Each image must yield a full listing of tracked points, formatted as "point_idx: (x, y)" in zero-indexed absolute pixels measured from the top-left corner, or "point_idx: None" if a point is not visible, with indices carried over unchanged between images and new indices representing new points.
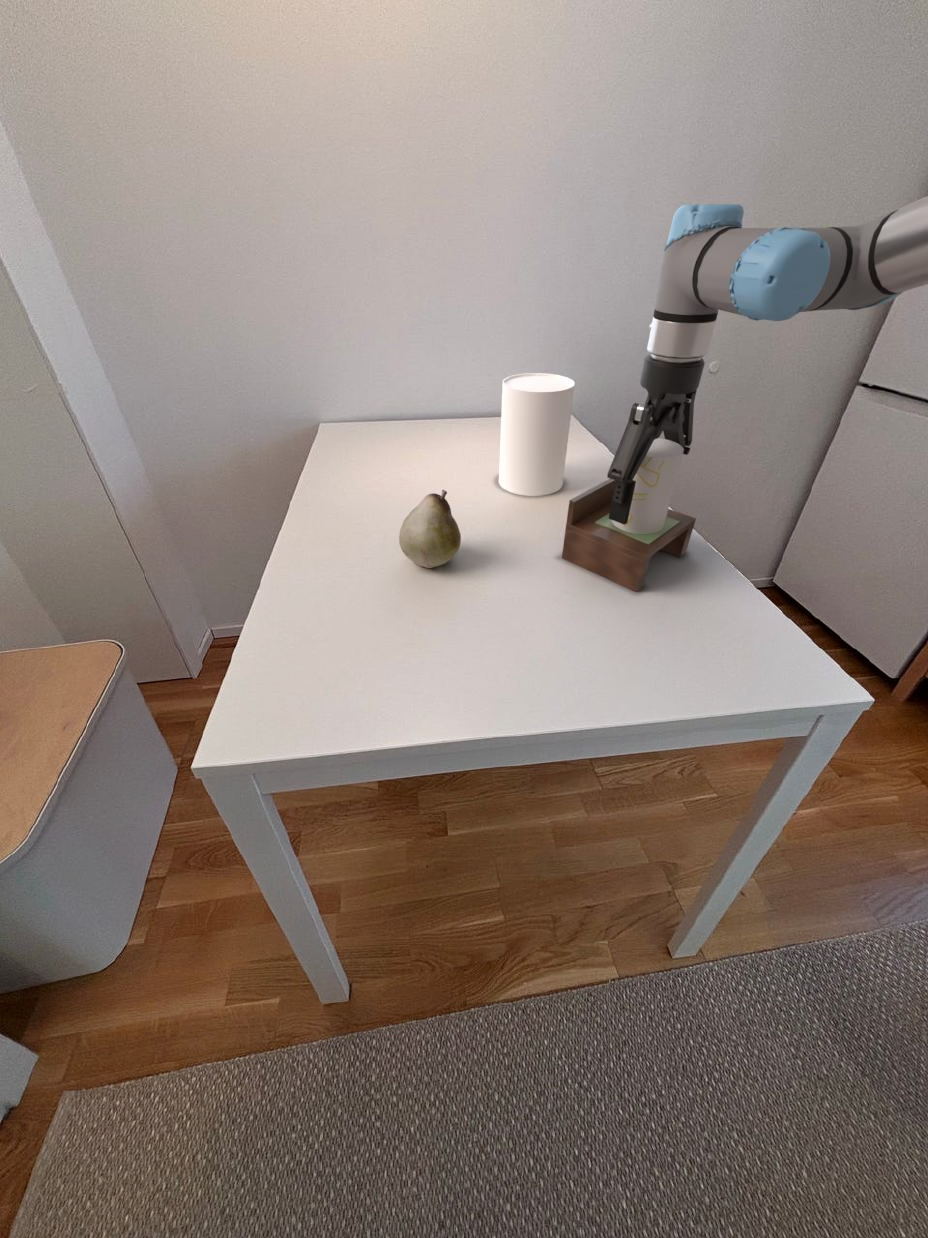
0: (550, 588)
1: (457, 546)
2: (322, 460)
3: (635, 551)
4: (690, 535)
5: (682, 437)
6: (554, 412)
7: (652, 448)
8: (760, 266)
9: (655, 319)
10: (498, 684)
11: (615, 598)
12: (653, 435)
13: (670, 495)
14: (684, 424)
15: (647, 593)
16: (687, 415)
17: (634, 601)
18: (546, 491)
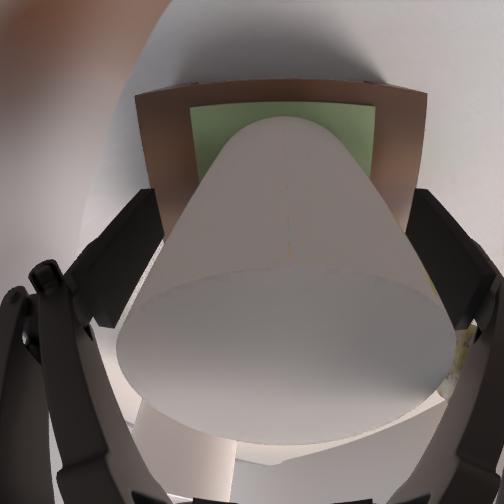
0: (454, 206)
1: (469, 334)
2: (323, 449)
3: (424, 121)
4: (158, 89)
5: (50, 348)
6: (185, 466)
7: (317, 397)
8: None
9: None
10: None
11: (426, 108)
12: (492, 471)
13: (278, 143)
14: (17, 393)
15: (376, 65)
16: (4, 439)
17: (414, 76)
18: None
